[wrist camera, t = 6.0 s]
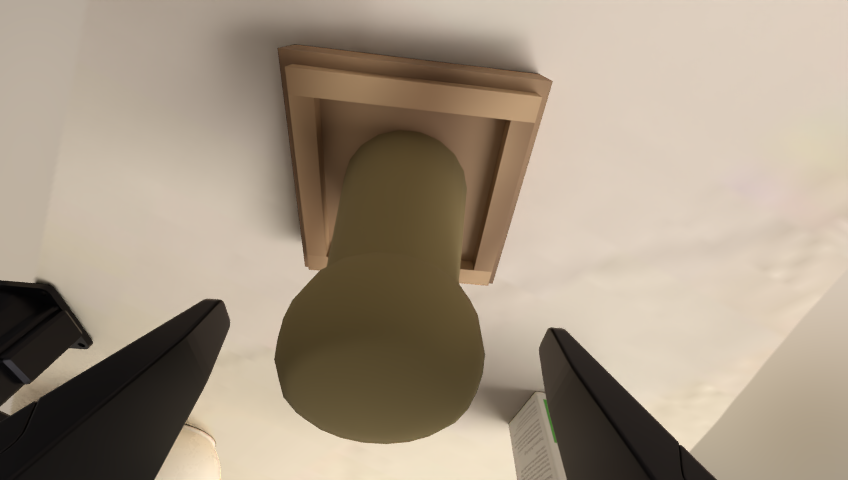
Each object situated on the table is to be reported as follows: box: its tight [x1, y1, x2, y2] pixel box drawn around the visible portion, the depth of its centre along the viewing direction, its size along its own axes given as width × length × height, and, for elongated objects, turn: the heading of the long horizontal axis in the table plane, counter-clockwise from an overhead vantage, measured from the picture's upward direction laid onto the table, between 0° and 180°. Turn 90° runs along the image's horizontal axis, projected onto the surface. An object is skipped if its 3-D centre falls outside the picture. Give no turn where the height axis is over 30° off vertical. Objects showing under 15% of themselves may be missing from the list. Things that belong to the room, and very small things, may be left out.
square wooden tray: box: [278, 44, 553, 286], centre depth 17 cm, size 11×11×3 cm
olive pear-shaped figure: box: [274, 130, 485, 444], centre depth 12 cm, size 6×6×11 cm
